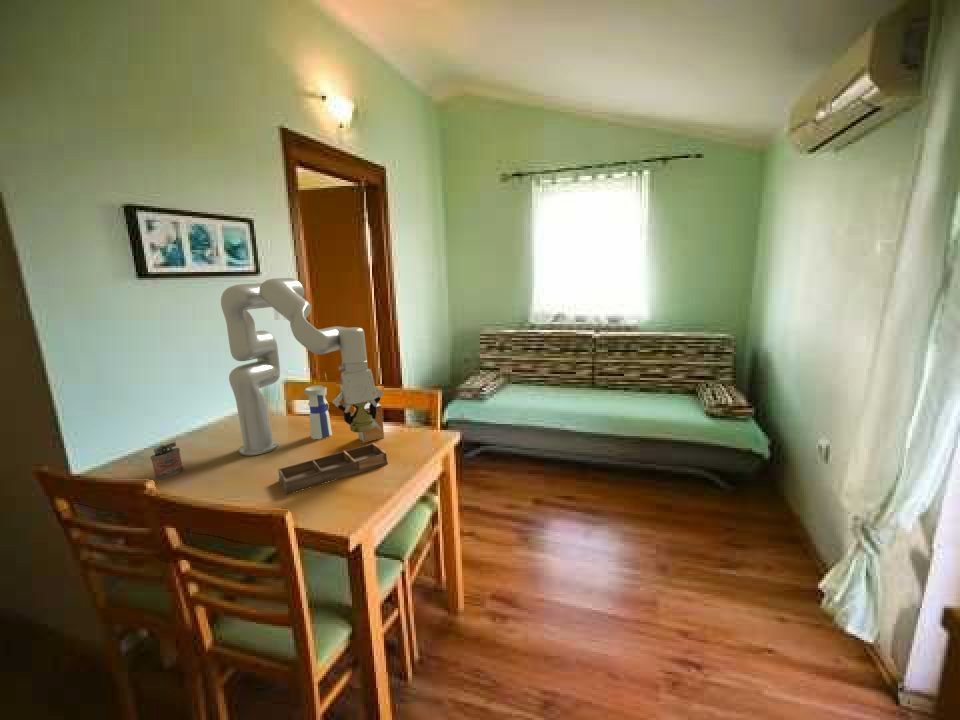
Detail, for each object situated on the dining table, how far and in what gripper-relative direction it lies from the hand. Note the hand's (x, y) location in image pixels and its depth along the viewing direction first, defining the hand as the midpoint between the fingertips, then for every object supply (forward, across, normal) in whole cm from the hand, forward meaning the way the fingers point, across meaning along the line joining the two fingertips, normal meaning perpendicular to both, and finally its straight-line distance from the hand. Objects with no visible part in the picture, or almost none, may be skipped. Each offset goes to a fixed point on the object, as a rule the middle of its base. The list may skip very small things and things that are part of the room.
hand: (361, 420), depth 140 cm
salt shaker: (+3, 0, 0) cm, 3 cm away
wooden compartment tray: (+15, -10, 0) cm, 18 cm away
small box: (+15, +10, +20) cm, 27 cm away
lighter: (+15, -53, +35) cm, 65 cm away
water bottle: (+15, -4, +36) cm, 39 cm away
